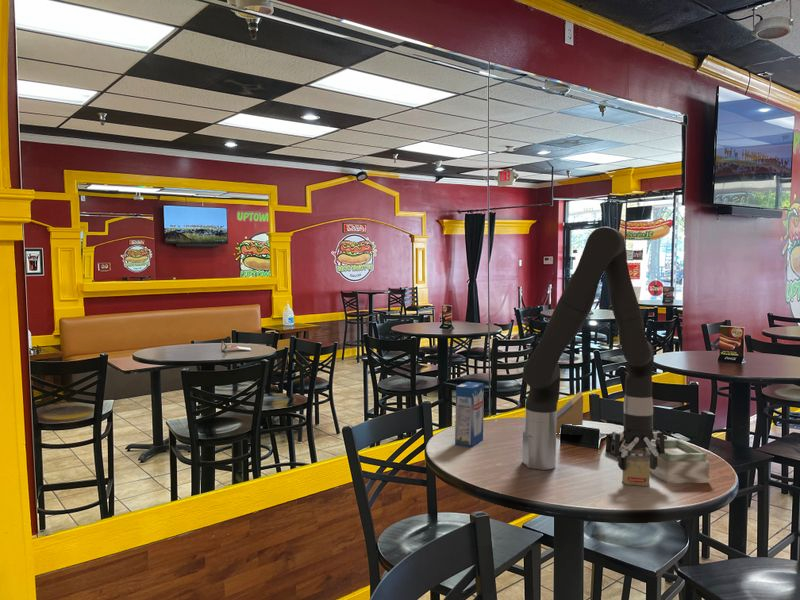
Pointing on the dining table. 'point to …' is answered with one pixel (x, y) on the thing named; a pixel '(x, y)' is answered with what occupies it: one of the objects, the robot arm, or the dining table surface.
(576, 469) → the dining table surface
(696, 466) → the stand
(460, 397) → the milk carton
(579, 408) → the sandwich container
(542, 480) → the dining table surface
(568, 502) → the dining table surface
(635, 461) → the lighter
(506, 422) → the dining table surface
